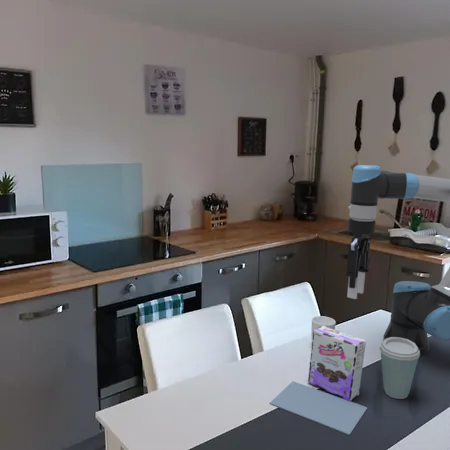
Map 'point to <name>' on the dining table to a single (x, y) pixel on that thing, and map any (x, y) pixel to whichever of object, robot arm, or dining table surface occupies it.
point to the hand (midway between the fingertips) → (355, 295)
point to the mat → (320, 407)
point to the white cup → (322, 323)
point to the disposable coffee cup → (398, 365)
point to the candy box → (336, 362)
